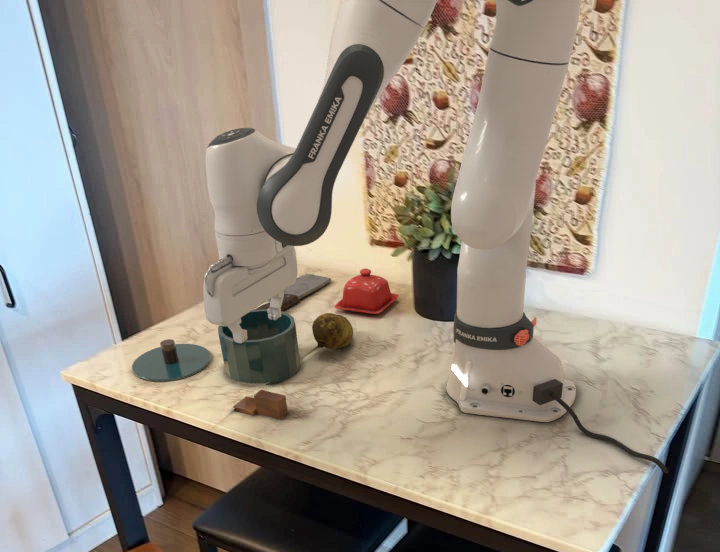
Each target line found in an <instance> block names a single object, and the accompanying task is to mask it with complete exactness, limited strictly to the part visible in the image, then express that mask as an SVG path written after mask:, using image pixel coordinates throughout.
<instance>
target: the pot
mask: <svg viewBox="0 0 720 552" xmlns="http://www.w3.org/2000/svg"><path fill="white" fill-rule="evenodd" d="M239 325H240V327H241V328H242V329H244V330H247V336H248V339H247V340H246V341H244V342H243V343H237V342H235V341H234V339H233V333H232V331H231V330H230V329H229V328H228V327H227V326H220V325H218V327H217V332H218V333H217V334H218V339H219V345H220V350H221V355H222V360H223V365H224V371H225V374H226V375H227V376H228V377H229V378H230V379H231V380H234V381H236V382H239V383H245V384H265V386H269V385H274V384H276V383H277V384H278V383H280V382H283V381H285V380H287V379H289V378H291V377H292V376H294V375H296V373H297V372H298V371H299V369H300V366H301V360H300V351H299V350H300V349H299V342H298V335H297V326H296V325H297V324H296V320H295V317H294V316H293V315H291V314H290V313H288V312H286V311H284V310H282V311H281V317H280V318H278V319H277V320H271V319H269V318H268V313H267V309H263V310H254V309H253V310H252V311H250V312H249V313H247V314H246V315H244V316H242V317H241V323H240V324H239Z"/></svg>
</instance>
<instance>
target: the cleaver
mask: <svg viewBox="0 0 720 552" xmlns="http://www.w3.org/2000/svg"><path fill="white" fill-rule="evenodd" d="M330 282H332V278H331V277H327V276H322V275H316V274H312V273H310V274H309V273H308V274H304V275H301V276H299V277H297V278H296V281H295V283H294V284H293V285H291V286H290V287H288V288H286V289H285V290H283V291H284V297H283V301H282V305H281V311H284V310H286V309H289V308H290V307H292V306H294V305H296V304H297V303H299V300H301V299H303V298H305V297H306V296H308V295H310V294H312V293H314V292H315V291H317V290H319V289H321V288H323V287H324V286H326V285H327V284H329V283H330ZM269 307H270V302H267V303H263V304H261V305H260V306H258V307H257V308H255V309H253V310H263V309H268V308H269Z"/></svg>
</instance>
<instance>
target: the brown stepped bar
mask: <svg viewBox="0 0 720 552" xmlns="http://www.w3.org/2000/svg"><path fill="white" fill-rule="evenodd" d="M232 407H233V411H236V412H239V413H242V414H247V415H249V416H255V415H256V414H258V415H262V416H266V417H270V418H274V419H277V420H282V419H284V417H286V416H287V415H288V413H289V412H288V404H287V397H286V395H284V394H280V393H277V392H272V391H269V390H264V389H260V390H259V391H258V392H256V393H255V394H254V395H253V397H251V396H245V397H244V398H242V399H241V400H240V401H238V402H237V403H236V404H234V405H233V406H232Z"/></svg>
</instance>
